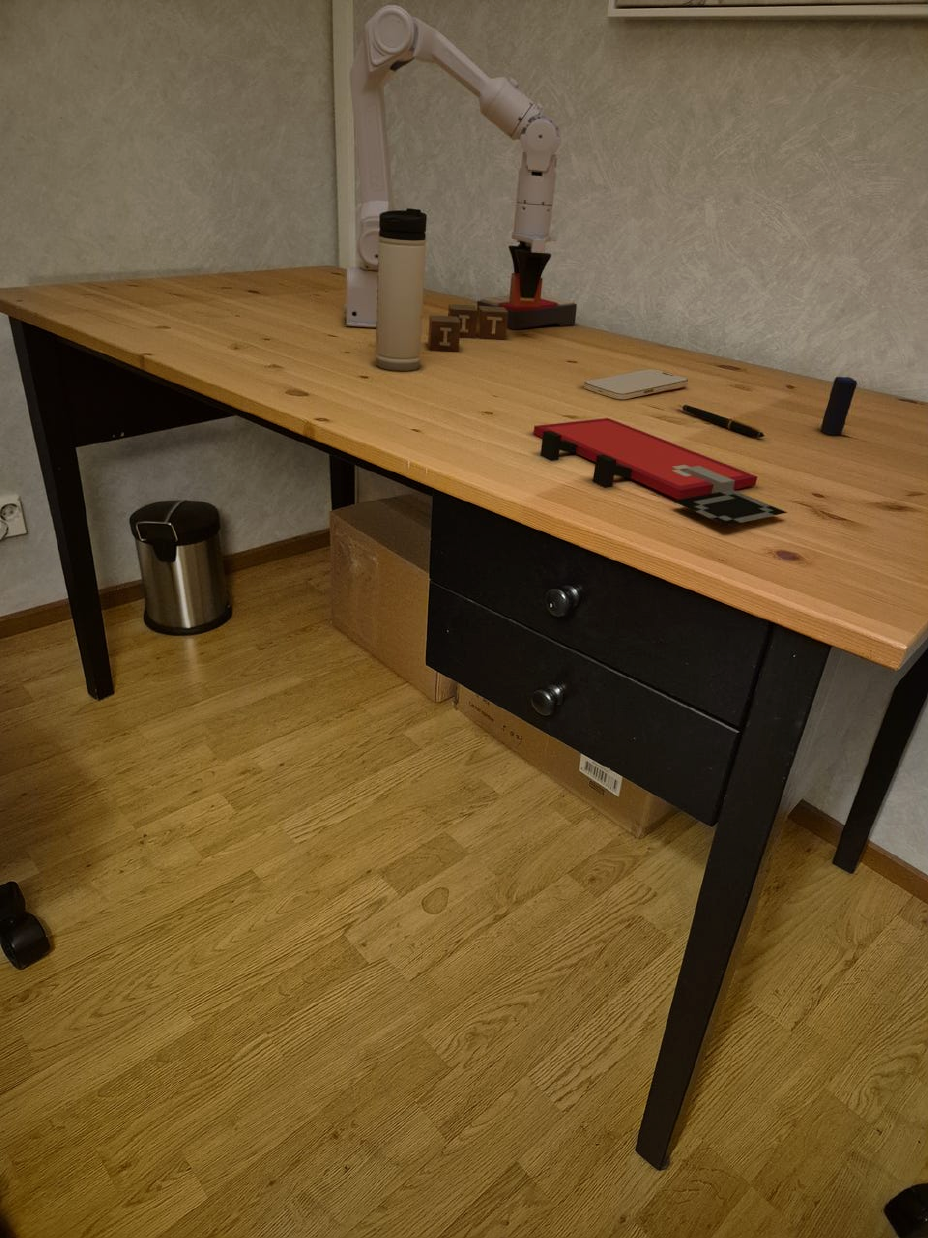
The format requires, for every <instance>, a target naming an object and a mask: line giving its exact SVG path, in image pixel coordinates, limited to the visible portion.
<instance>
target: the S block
mask: <svg viewBox="0 0 928 1238" xmlns="http://www.w3.org/2000/svg"><path fill="white" fill-rule="evenodd" d="M542 289H543V277H541V278H540V281H539V285H538V288H537V291H536V294H535V297H534V298H522V297H521V293H520V273H514V272H511V276H510V287H509V295H510V297H509V301H510V302H511V303H512V305H513V306H529V307H540V299H541V293H542Z"/></svg>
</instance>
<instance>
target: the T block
mask: <svg viewBox="0 0 928 1238" xmlns="http://www.w3.org/2000/svg"><path fill="white" fill-rule="evenodd" d="M507 321H508V311H507V310H506V309H505V308H504V307H490V306H479V307H478V318H477V331H476V335H477V336H478V338H479V339H481V340H482V339H485V340H501V341H502V340H503V341H506V340H507V331H508V327H507Z"/></svg>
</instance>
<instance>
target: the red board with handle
mask: <svg viewBox="0 0 928 1238" xmlns="http://www.w3.org/2000/svg"><path fill="white" fill-rule="evenodd" d="M532 433H533V435H535V436H536V437H539V438H541V439H542V440H541V448H540V455H539V456H541V457H542V458H544V459H546V460H549V461H550V462H555V461H559V457H560V451H563V452H567V453H572V454H576V455H579V456H580V457H583V458H585V459H587V460H590V461H592V462H594V470H593V478H592V483H594V484H596V485H598V486H600V487H602V488H604V489H608V488H613V485H614V480H615V479H614V478H615V476H617V477H622V478H627V479H631V480H634V481H636V482H638V483H641V485H645V486H647V487H649V488H651V489H653V490H655V491H658V492H660V493H662V494H664V495H667V496H669V497H671V498H673V499H676V500H673V502H674V503H676V504H678V505H681V506H683V507H685V508H687V509H689V510H691V511H693V512H696V513H698V514H700V515H702V516H705V517H707V518H709V519H711V520H713V521H715V522H718V523H720V524H721V525H724V526H725V527H728V526H732V525H739V524H743V523H746V522H752V521H756V520H760V519H765V518H770V517H775V516H778V515H785V514H788V512H787V511H785V510H783V509H780V508H778V507H775V506H774V505H770V504H768V503H766V502H764V501H761V500H759V499H757V498H754V497H751V496H750V495H747V494H744V493H742V492H740V491H737V490H739V489H743V488H749V487H755V486H756V484H757V481H758V476H757V475H755V474H752V473H750V472H747V471H744V470H742V469H740V468H736V467H734V466H732V465H729V464H726V463H724V462H721V461H719V460H717V459H713V458H712V457H709V456H706V455H705V454H701V453H699V452H696V451H693V450H690V449H688V448H686V447H684V446H681V445H679V444H675V443H673V442H670V441H668V440H665V439H663V438H660V437H657V436H655V435H653V434H650V433H648V432H644V431H642V430H639V429H637V428H635V427H633V426H630V425H626V424H625V423H622V422H619V421H617V420H614V419H612V418H609V417H604V418H594V419H585V420H577V421H567V422H559V423H550V424H549V423H548V424H540V425H534V426H533V432H532Z"/></svg>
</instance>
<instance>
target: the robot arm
mask: <svg viewBox="0 0 928 1238" xmlns="http://www.w3.org/2000/svg"><path fill="white" fill-rule="evenodd" d="M414 60H418V61H419V62H421V63H428V64H435V65H437V66H438V67H440V68H441V69H442V70H443V71H445V72H446V73H447V74H448V75H450V76H451V77H452V78H453V79H455V81H456V82H458V83H460V84H461V85H462V86H463V87H464V88H466V89H467V90H468V91H469V92H471V94H473V95H474V96H475V97H477V98H478V101H479V110H480V114H481V115H483V117H484V118H486V119H487V120H488V121H489V122H491V123H492V125H494V126H495V127H497V128H498V129H499V130H500V131H501V132H503V133H504V134H505V135H506V136H507V137H509V139H511V140H512V141H517V140H519V141H520V145H521V148H522V150H523V151H522V153H521V154H522V155H521V166H520V168H519V170H518V178H517V189H516V190H517V191H516V201H515V211H514V221H513V231H512V232H511V239H513V240H516V242H517V243H519V244H518V245H508V250H509V253H510V256H511V260H512V266H513V273H520V293H521V297H522V298H534V297H535V294H536V291H537V288H538V285H539V281H540V278H542V275H543V273H544V271H545V268H546V266H547V265H548V263H549V262H550V260H551V258H552V254H551V253H550V252H545V251H546V244H548V243H549V242H556V241H557V235H554V234H550V231H551V223H552V213H553V204H554V196H555V195H554V194H555V187H556V186H555V185H556V177H557V172H556V170H555V169H556V167H557V162H558V158H557V154H556V152H557V151H558V149H559V147H560V145H561V131H560V126H559V125H558V124H557V122H556V120H554V119H553V118H552V116H551V115H548V114H541V113H542V111H543V110H544V106H543V105H542V104H541V103H540V102H538V103H537V104H536V103H534V102H533V100H531V99H530V98H529V97H528V96H527V95H525V94H524V93H523V92H522V91H521V90H520V89H518V87H519V83H518V81H516V80H515V79H514V78H511V79H510V80H508V79H507V78H506V77H505V76H499V77H495V78H491V77H489V76H488V75H487V74H486V73H485V72H484V71H483V70H482V69H480V67H478V66H477V65H476V64H475V63H474V62H473V61H472V60H471V59H469V57H468V56H466V54H464V53H463V52H462V51H461V50H459V48H458V47H456V46H455V45H454V44H453V43H452V41H450V40H449V39H448V38H447V37H445V36H444V35H443V33H441V32H440V31H438V30H436V29H435V28H433V27H432V26H431V25H428V24H427V23H425V21H422V20H420V19H419V18H417V17H415V16H412V15H411V14H409V12H407V11H406V10H405V9H404V8H403V7H401V6H399V5H396V4H389V5H388V4H387V5H385V6H383V7H381V8H380V9H378V11H376V13H375V14H374V15H373V16H372V17H371V18H370V19H369V20H368V21H367V23H366V24H365V25H364V30H363V35H362V38H361V40H360V44H359V46H358V48H357V51H356V54H355V56H354V58H353V61H352V63H351V66H350V69H349V77H348V78H349V86H350V87H349V88H350V95H351V96H350V97H351V106H352V107H351V108H352V115H353V116H352V117H353V125H354V136H355V145H356V155H357V165H358V174H359V175H358V176H359V184H360V185H359V186H360V194H361V203H362V205H361V211H360V217H359V223H360V224H359V225H360V231H359V234H358V238H357V240H356V251H357V254H358V257H359V258H360V261H358V266H347V267H346V301H345V302H344V315H346V326H347V327H360V328H376V317H377V276H378V242H379V239H378V236H379V230H380V228H379V215H380V214H381V213H382V212H386V211H395V210H396V207H395V204H394V203H395V202H394V196H393V185H392V173H391V163H390V162H391V161H390V160H391V159H390V150H389V140H388V138H389V137H388V128H387V127H388V126H387V116H386V104H385V92H384V91H385V90H384V89H385V86H386V85H387V84H388V82H389V81H390V80H391V79H392V78H393V76H394V75H395V74H396V73H397V72H398V70H400V69H401V68H403V67H405V66H406V65H409V63H412V61H414Z"/></svg>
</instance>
